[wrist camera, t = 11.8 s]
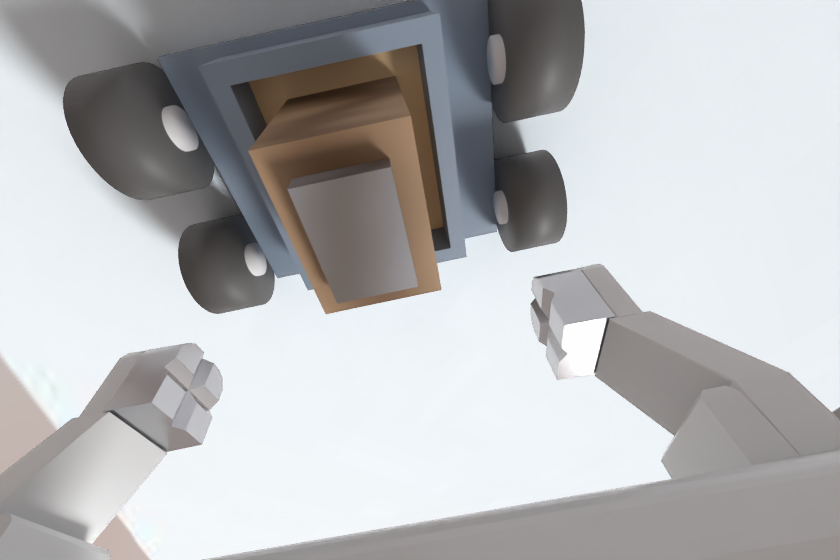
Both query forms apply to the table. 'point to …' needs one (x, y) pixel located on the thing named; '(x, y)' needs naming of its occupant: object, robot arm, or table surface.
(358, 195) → the brown box
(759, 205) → the table surface
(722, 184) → the table surface
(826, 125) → the table surface
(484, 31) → the chassis
